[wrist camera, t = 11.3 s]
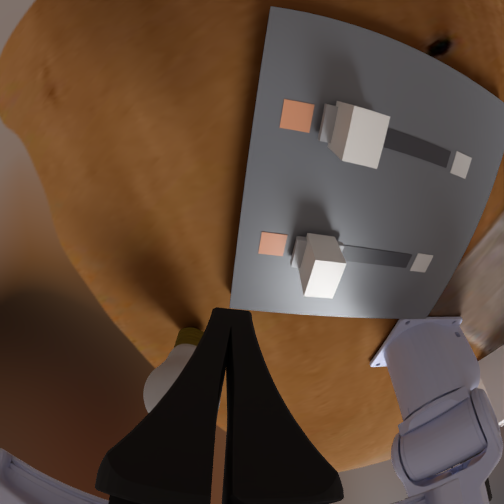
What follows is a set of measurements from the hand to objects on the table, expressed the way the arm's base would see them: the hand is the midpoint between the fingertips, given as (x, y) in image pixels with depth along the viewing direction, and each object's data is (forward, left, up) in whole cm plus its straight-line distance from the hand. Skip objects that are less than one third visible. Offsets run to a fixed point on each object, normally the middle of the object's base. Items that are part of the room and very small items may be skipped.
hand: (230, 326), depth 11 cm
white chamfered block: (-47, +20, -10) cm, 52 cm away
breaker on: (-5, +1, -8) cm, 9 cm away
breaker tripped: (-5, -7, -8) cm, 11 cm away
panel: (-9, -3, -9) cm, 13 cm away
